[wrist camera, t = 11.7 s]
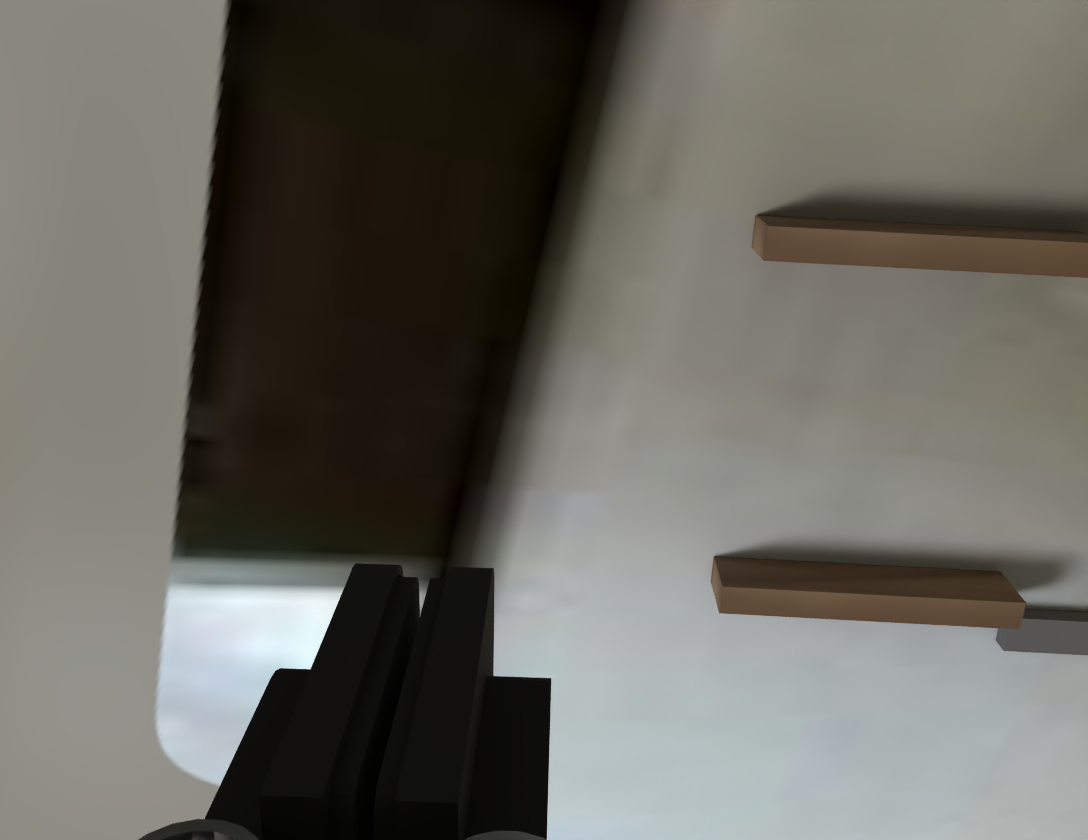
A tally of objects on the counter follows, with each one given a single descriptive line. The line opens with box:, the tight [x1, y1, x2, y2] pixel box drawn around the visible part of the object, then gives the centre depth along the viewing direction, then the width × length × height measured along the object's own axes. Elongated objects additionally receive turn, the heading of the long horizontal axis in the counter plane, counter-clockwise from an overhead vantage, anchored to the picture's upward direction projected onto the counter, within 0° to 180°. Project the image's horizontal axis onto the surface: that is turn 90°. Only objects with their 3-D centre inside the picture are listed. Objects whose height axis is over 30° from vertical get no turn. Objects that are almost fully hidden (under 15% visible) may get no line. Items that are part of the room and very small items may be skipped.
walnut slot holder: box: [711, 215, 1088, 629], centre depth 38 cm, size 15×12×2 cm
